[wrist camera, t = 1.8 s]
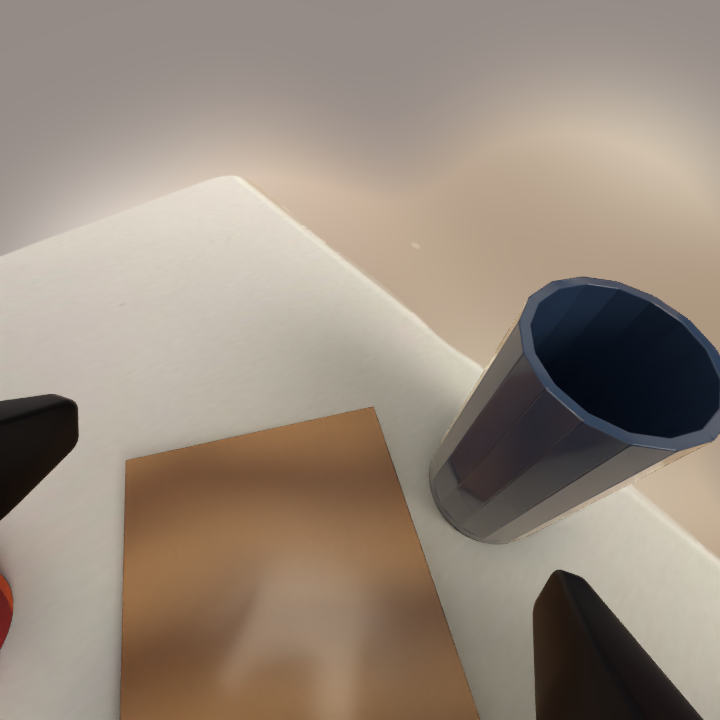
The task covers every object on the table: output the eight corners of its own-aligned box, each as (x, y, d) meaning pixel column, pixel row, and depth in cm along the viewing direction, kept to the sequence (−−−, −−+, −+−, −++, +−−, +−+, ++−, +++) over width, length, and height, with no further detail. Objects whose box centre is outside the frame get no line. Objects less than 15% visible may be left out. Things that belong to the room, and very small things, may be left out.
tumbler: (564, 525, 23) (783, 420, 12) (456, 560, 21) (598, 475, 11) (508, 420, 26) (640, 266, 16) (412, 443, 25) (485, 291, 14)
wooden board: (531, 880, 15) (538, 887, 15) (118, 1104, 12) (110, 1124, 12) (372, 410, 26) (373, 406, 25) (129, 464, 23) (125, 460, 22)
